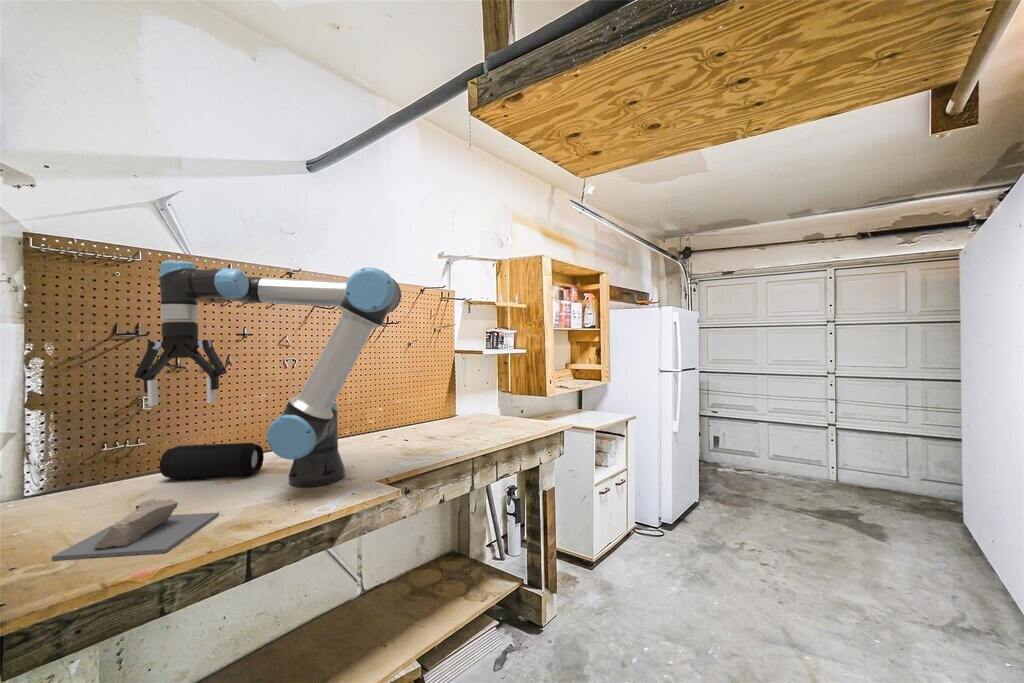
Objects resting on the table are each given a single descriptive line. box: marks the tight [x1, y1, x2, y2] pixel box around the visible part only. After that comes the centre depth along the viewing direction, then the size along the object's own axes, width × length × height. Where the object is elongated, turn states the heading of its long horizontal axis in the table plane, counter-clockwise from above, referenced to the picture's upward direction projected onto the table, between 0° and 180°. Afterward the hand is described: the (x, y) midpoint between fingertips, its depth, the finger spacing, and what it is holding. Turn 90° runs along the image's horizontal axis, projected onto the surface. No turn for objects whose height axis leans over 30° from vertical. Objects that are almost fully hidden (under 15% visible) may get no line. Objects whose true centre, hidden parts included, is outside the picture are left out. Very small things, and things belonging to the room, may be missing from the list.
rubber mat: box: [51, 512, 220, 562], centre depth 92 cm, size 20×18×1 cm
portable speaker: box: [159, 442, 264, 481], centre depth 132 cm, size 26×10×10 cm, turn 96°
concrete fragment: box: [94, 498, 179, 549], centre depth 90 cm, size 7×14×6 cm, turn 169°
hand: (182, 404), depth 112 cm, fingers open, 13 cm apart
